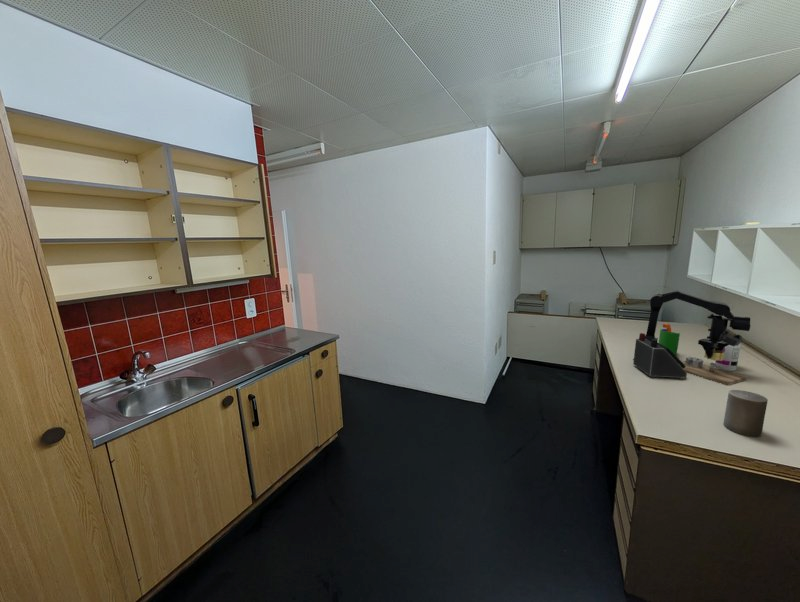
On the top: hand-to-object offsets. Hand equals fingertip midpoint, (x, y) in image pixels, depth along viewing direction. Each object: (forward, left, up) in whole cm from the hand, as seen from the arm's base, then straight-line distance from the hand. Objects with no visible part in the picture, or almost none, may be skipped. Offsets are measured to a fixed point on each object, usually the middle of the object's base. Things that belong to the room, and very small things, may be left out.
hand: (713, 356), depth 159 cm
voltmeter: (-22, +11, -10) cm, 27 cm away
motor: (+9, +25, -10) cm, 29 cm away
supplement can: (+16, +2, -10) cm, 19 cm away
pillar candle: (-49, -33, -10) cm, 60 cm away
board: (-1, +2, -10) cm, 10 cm away
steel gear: (0, +8, -8) cm, 11 cm away
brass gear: (0, 0, -1) cm, 1 cm away
